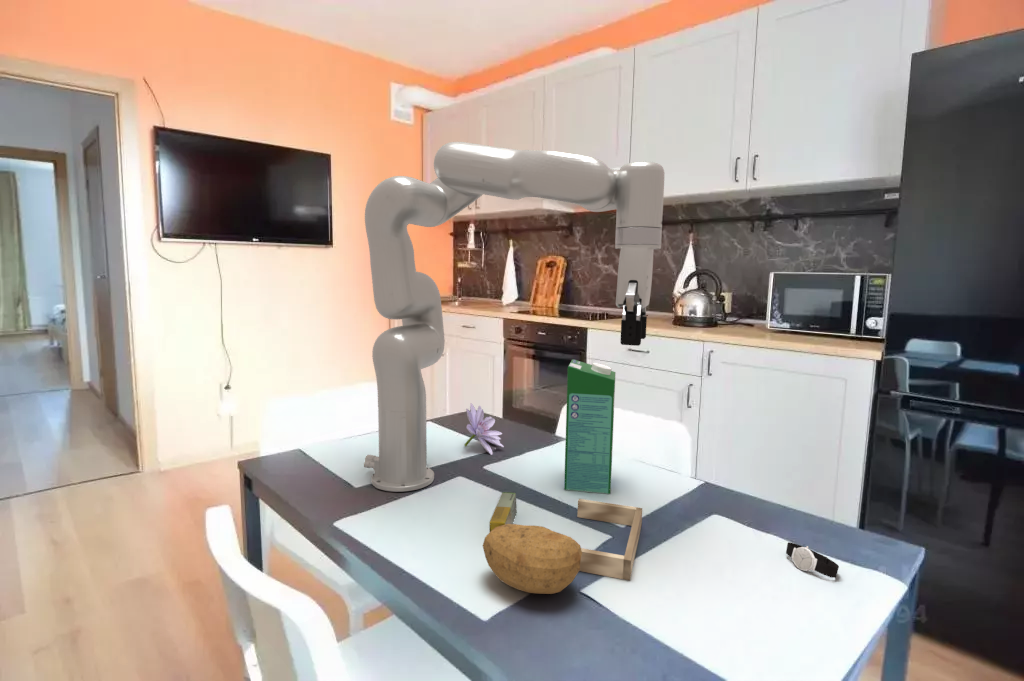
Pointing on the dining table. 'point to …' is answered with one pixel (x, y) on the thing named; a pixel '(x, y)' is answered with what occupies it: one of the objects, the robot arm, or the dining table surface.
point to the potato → (532, 557)
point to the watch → (811, 560)
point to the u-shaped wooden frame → (607, 561)
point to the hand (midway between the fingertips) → (633, 341)
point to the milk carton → (589, 427)
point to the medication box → (504, 510)
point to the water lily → (482, 428)
